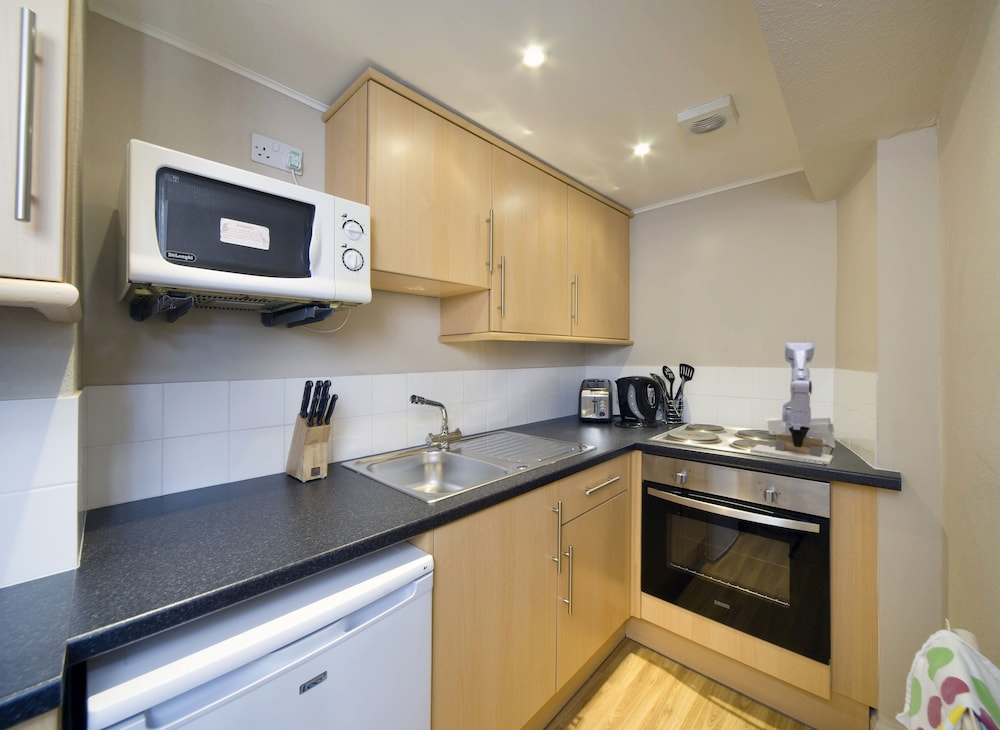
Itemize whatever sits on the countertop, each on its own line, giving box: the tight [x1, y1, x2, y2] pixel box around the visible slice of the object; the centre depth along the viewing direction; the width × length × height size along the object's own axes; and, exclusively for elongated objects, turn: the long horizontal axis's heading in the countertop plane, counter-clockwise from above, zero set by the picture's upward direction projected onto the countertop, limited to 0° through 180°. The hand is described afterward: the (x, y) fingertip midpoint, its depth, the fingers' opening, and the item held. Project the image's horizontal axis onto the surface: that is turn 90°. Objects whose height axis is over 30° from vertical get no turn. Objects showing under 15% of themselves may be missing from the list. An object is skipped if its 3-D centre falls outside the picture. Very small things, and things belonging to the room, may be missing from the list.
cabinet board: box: [750, 441, 834, 465], centre depth 154 cm, size 13×24×4 cm, turn 46°
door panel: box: [775, 434, 824, 456], centre depth 154 cm, size 2×14×6 cm, turn 46°
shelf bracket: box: [766, 417, 836, 449], centre depth 180 cm, size 6×25×13 cm, turn 25°
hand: (798, 446), depth 154 cm, fingers open, 3 cm apart
